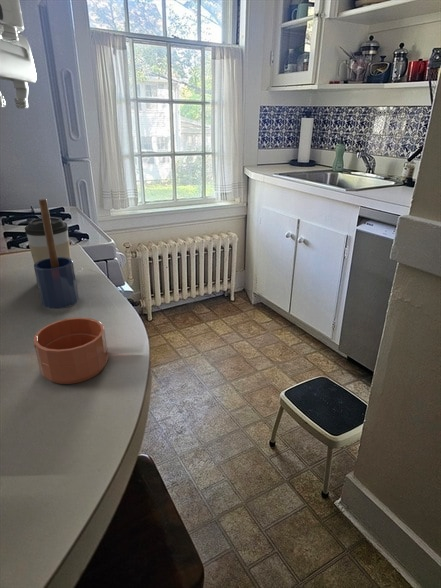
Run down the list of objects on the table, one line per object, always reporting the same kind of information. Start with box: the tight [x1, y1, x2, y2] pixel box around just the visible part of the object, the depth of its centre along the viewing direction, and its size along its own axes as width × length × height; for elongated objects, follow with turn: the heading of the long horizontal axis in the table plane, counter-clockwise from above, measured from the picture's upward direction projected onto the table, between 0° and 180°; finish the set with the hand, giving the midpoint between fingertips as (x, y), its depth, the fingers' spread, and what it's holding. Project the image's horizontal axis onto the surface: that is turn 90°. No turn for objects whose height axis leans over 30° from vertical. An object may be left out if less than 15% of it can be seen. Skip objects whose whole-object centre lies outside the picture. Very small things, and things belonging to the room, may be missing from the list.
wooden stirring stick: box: [38, 198, 59, 268], centre depth 78 cm, size 1×3×21 cm, turn 2°
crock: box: [33, 257, 79, 310], centre depth 80 cm, size 7×7×9 cm
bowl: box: [33, 317, 109, 385], centre depth 60 cm, size 10×10×6 cm
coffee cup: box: [24, 217, 72, 265], centre depth 90 cm, size 9×9×15 cm
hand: (11, 108), depth 70 cm, fingers open, 8 cm apart
